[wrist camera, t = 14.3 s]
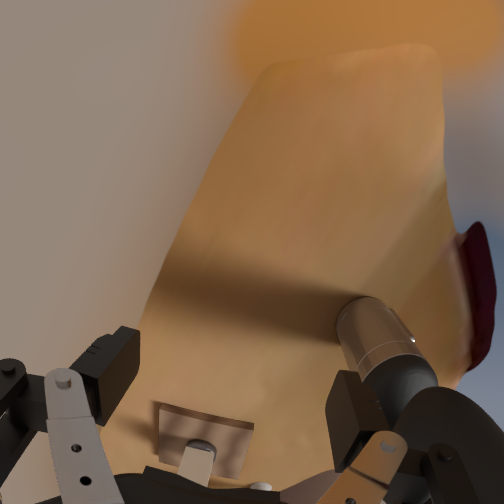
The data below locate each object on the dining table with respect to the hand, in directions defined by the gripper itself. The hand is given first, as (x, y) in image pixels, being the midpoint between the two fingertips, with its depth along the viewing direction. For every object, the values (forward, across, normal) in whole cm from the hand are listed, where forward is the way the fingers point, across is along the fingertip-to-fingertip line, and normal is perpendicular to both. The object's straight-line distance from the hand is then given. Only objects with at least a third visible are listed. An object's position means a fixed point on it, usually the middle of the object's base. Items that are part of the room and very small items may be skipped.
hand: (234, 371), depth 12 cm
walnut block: (+35, +4, +46) cm, 58 cm away
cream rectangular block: (+31, +4, +46) cm, 56 cm away
